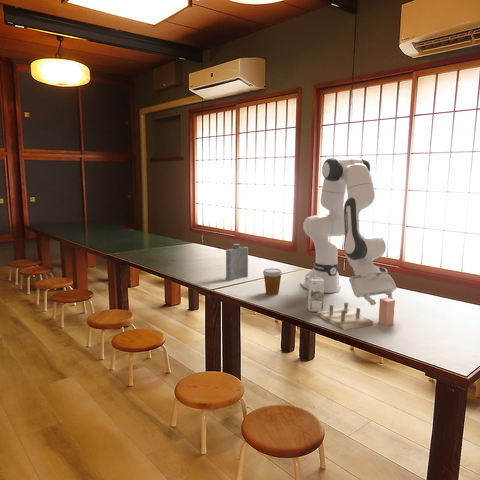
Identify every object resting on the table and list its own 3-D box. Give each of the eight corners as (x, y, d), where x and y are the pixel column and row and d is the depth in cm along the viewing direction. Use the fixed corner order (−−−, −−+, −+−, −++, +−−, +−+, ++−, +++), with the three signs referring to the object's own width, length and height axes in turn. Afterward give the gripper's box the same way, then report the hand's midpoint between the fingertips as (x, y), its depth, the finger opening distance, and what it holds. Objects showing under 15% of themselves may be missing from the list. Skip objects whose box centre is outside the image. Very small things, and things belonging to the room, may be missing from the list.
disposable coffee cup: (267, 289, 211) (267, 267, 209) (284, 292, 207) (284, 269, 205) (259, 294, 203) (260, 271, 201) (277, 297, 199) (278, 273, 197)
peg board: (317, 315, 174) (317, 303, 173) (343, 310, 179) (344, 298, 178) (344, 330, 157) (345, 316, 157) (372, 324, 163) (373, 311, 162)
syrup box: (319, 307, 183) (321, 276, 181) (323, 312, 177) (324, 280, 175) (307, 308, 183) (308, 276, 181) (310, 312, 177) (311, 280, 175)
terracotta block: (378, 322, 166) (379, 298, 164) (385, 320, 167) (387, 297, 166) (385, 325, 162) (387, 301, 161) (393, 324, 164) (394, 300, 162)
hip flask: (228, 281, 228) (228, 246, 225) (223, 279, 231) (223, 245, 228) (249, 276, 239) (249, 243, 235) (244, 275, 242) (244, 242, 238)
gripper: (351, 272, 166) (366, 302, 158) (389, 268, 174) (405, 296, 167) (343, 280, 170) (358, 310, 163) (381, 276, 179) (396, 303, 172)
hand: (382, 303), depth 165 cm, fingers open, 8 cm apart
